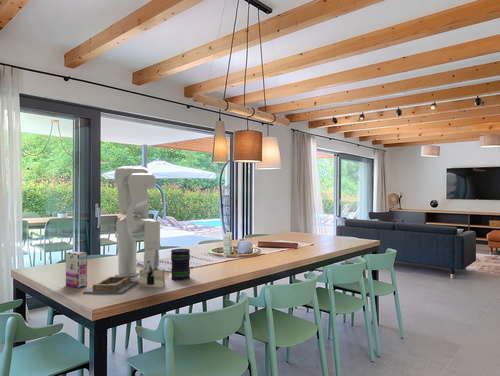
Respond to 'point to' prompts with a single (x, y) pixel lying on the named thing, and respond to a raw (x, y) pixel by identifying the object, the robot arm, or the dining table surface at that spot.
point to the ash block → (158, 278)
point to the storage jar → (180, 264)
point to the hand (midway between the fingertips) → (152, 282)
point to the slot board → (112, 286)
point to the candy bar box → (76, 269)
